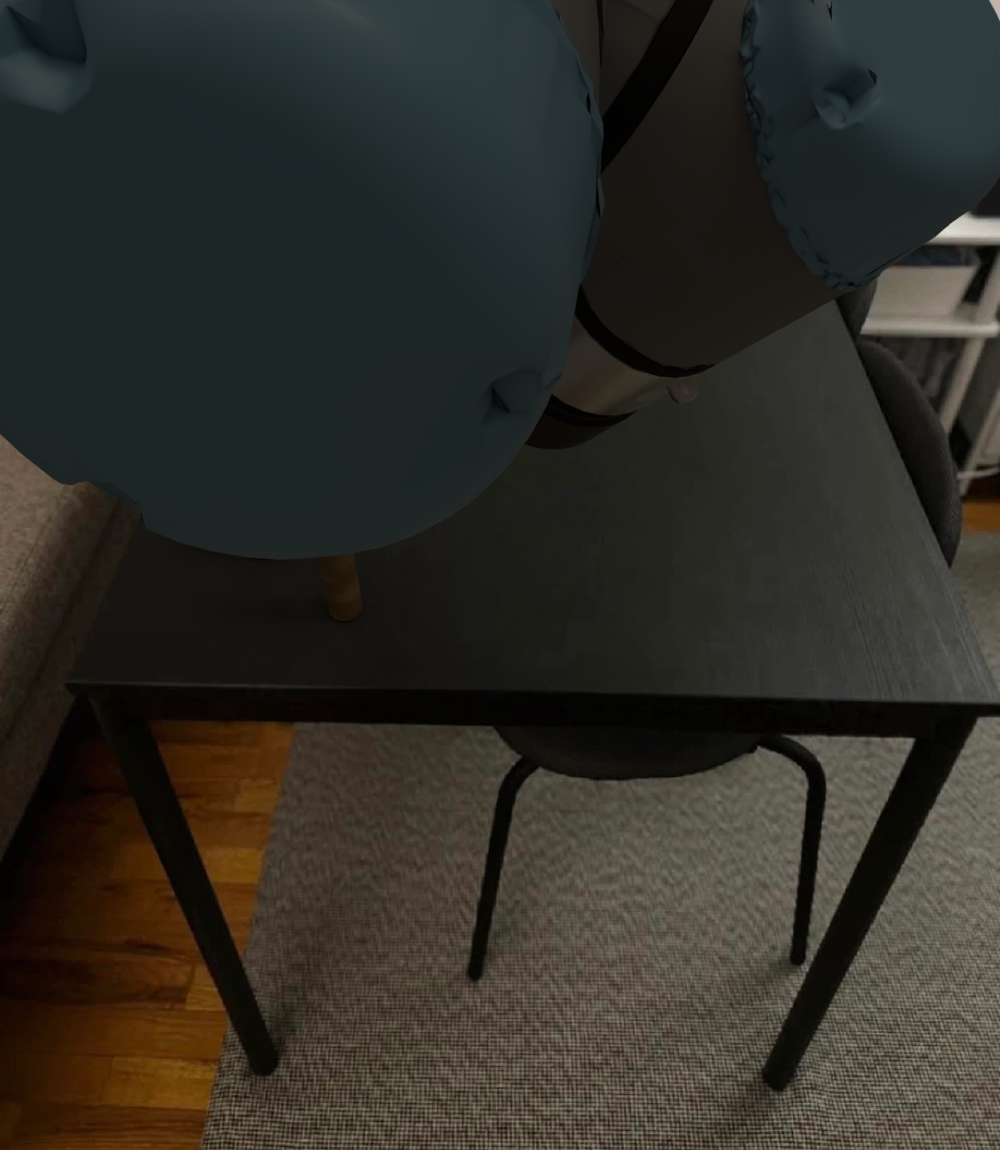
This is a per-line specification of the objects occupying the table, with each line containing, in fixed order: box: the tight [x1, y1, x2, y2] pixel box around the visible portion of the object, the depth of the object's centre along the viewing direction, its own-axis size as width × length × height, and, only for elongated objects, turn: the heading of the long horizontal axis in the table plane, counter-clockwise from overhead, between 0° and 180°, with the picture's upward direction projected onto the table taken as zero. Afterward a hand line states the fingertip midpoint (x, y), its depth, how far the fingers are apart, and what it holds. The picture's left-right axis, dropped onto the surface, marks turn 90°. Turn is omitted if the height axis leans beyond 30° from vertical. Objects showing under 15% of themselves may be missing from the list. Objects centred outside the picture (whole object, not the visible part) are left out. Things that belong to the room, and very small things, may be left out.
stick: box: [317, 553, 364, 622], centre depth 66 cm, size 3×3×18 cm
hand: (393, 477), depth 53 cm, fingers open, 13 cm apart
